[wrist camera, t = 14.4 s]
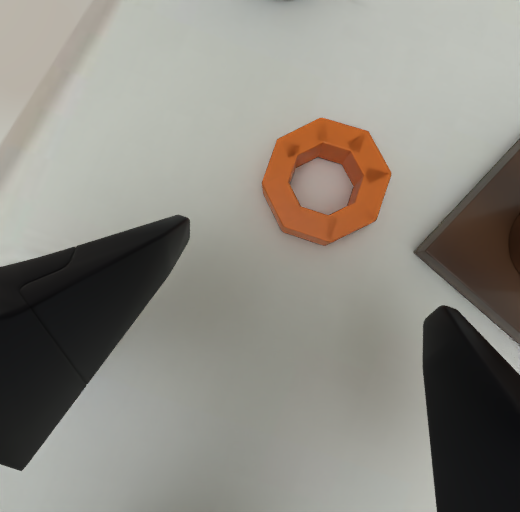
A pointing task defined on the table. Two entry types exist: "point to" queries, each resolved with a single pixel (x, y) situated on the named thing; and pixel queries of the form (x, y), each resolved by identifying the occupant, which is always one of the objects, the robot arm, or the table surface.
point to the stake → (484, 245)
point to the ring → (337, 150)
